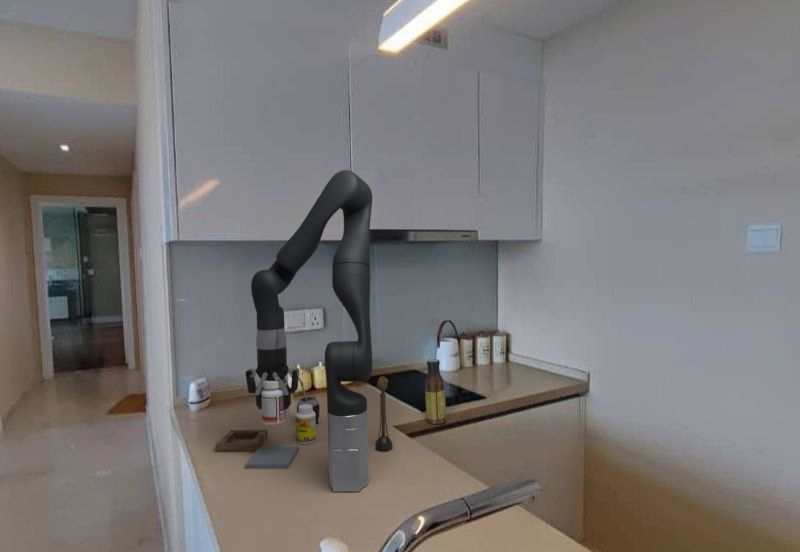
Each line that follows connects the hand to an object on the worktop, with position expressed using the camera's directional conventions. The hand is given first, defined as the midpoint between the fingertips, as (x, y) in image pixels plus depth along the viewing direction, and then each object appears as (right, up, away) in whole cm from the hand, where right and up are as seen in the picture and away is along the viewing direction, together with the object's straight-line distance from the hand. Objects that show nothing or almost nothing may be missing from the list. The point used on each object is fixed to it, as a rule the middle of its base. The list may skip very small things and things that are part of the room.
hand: (273, 408), depth 123 cm
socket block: (-12, -13, +10) cm, 21 cm away
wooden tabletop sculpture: (+29, -13, +6) cm, 32 cm away
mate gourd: (+4, -13, +26) cm, 29 cm away
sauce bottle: (+45, -12, +25) cm, 53 cm away
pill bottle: (0, -4, 0) cm, 4 cm away
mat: (0, -13, 0) cm, 13 cm away
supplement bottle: (+6, -13, +12) cm, 19 cm away
